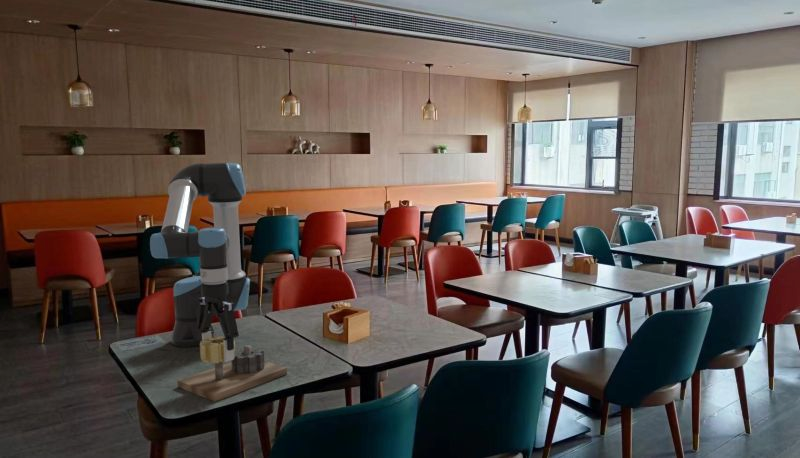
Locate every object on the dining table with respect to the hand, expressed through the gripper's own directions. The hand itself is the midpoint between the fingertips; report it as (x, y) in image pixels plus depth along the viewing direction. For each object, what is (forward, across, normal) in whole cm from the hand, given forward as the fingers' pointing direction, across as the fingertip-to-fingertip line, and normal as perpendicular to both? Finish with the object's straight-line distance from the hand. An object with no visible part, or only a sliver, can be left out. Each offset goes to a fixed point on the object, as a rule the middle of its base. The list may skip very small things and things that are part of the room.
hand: (218, 356), depth 176 cm
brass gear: (0, 0, 0) cm, 0 cm away
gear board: (+9, 0, +5) cm, 10 cm away
